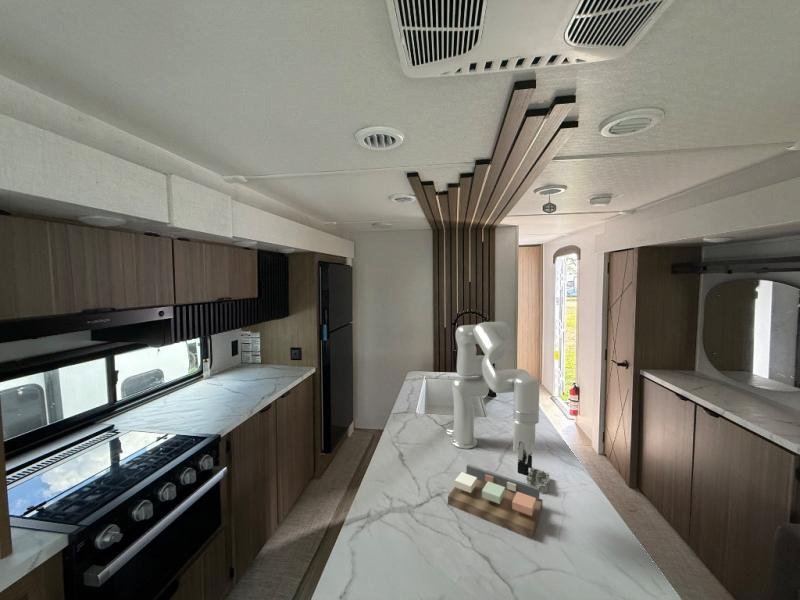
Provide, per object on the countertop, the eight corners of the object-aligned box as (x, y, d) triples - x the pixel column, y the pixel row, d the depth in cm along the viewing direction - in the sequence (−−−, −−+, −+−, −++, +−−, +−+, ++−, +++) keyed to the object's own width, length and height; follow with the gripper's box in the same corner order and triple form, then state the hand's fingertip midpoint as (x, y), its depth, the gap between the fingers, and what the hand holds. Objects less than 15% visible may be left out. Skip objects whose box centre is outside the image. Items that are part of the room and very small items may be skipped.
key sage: (481, 497, 110) (482, 490, 110) (487, 487, 115) (487, 481, 115) (499, 504, 107) (499, 497, 107) (504, 493, 112) (505, 487, 112)
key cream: (454, 486, 116) (454, 480, 116) (461, 478, 121) (461, 472, 121) (470, 493, 112) (470, 486, 112) (476, 483, 117) (477, 477, 117)
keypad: (447, 504, 114) (447, 485, 113) (465, 480, 127) (465, 463, 126) (532, 539, 98) (532, 517, 98) (542, 508, 111) (542, 488, 111)
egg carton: (546, 496, 118) (546, 485, 118) (524, 489, 122) (525, 478, 122) (551, 480, 127) (551, 470, 126) (530, 474, 131) (530, 464, 131)
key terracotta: (512, 508, 105) (512, 501, 104) (516, 498, 110) (516, 491, 109) (531, 516, 101) (531, 509, 101) (535, 505, 106) (535, 498, 106)
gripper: (520, 404, 112) (519, 454, 114) (506, 422, 98) (505, 479, 100) (543, 408, 108) (542, 461, 109) (532, 428, 94) (531, 488, 96)
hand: (524, 469), depth 105 cm, fingers open, 4 cm apart
